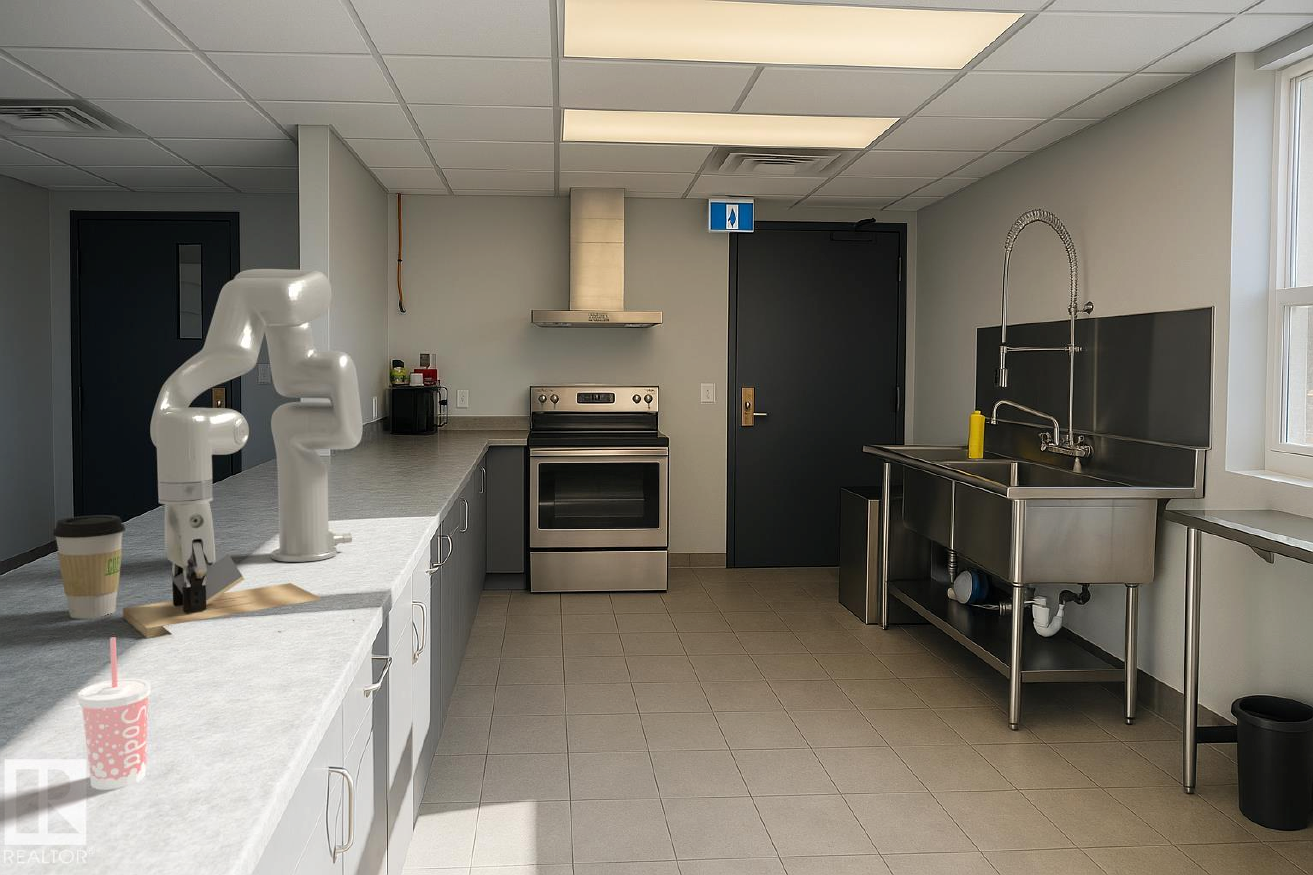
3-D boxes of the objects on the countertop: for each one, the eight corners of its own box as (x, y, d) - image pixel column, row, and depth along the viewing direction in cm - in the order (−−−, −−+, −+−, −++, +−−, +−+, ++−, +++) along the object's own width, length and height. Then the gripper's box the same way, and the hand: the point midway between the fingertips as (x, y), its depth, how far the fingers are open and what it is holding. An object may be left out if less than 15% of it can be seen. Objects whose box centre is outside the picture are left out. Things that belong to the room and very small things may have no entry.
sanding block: (234, 574, 153) (218, 549, 151) (244, 579, 149) (228, 553, 147) (189, 604, 148) (171, 579, 146) (198, 610, 145) (180, 584, 143)
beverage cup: (94, 799, 87) (88, 651, 85) (72, 779, 91) (66, 638, 90) (164, 778, 91) (159, 637, 90) (140, 759, 95) (135, 625, 94)
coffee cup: (142, 608, 152) (139, 516, 150) (88, 624, 142) (84, 527, 141) (97, 602, 155) (93, 512, 154) (40, 618, 146) (36, 522, 144)
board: (290, 591, 164) (290, 582, 163) (323, 607, 153) (322, 598, 153) (123, 617, 146) (123, 608, 146) (147, 638, 136) (146, 627, 136)
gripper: (229, 496, 141) (233, 615, 142) (195, 484, 153) (198, 593, 155) (175, 500, 136) (179, 624, 137) (144, 488, 148) (148, 601, 150)
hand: (189, 606), depth 146 cm, fingers closed on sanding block, 4 cm apart
